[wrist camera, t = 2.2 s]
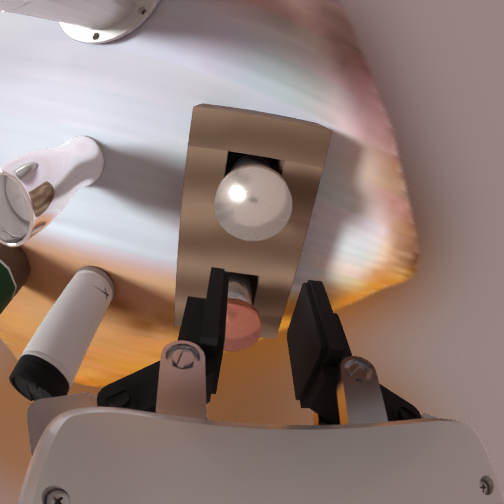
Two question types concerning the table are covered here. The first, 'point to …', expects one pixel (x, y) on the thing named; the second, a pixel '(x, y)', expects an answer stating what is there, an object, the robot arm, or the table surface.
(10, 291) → the beer bottle
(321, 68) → the table surface
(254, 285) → the socket board
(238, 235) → the plug cream
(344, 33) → the table surface
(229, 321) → the plug terracotta
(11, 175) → the beer glass
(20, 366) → the travel mug
